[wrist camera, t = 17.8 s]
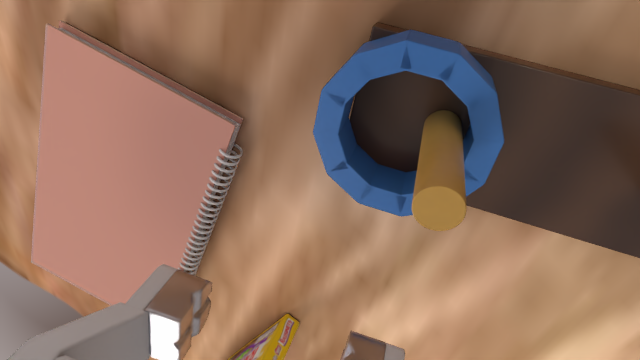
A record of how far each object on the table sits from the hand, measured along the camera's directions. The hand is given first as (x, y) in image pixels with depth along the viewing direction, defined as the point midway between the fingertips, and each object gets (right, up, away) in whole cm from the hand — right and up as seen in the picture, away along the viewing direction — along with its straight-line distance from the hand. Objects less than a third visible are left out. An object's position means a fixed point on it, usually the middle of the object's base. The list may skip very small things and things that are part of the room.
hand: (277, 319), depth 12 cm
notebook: (-16, +2, +29) cm, 33 cm away
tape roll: (+7, +8, +16) cm, 19 cm away
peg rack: (+16, +6, +16) cm, 24 cm away
